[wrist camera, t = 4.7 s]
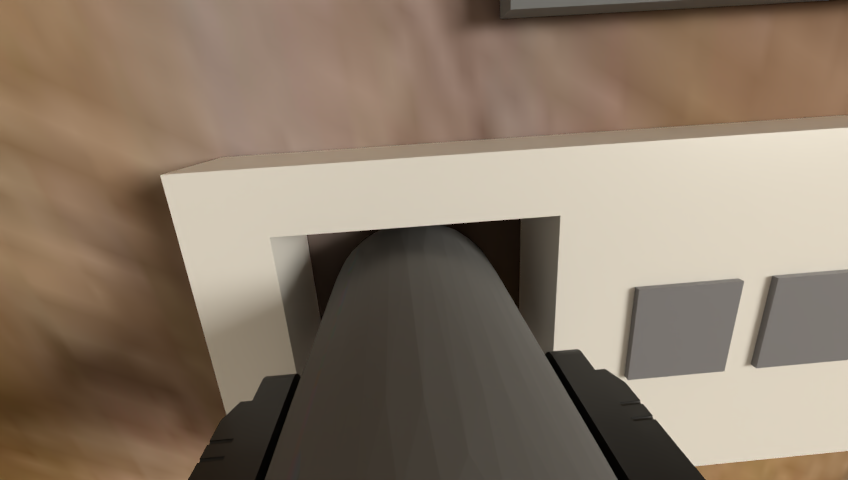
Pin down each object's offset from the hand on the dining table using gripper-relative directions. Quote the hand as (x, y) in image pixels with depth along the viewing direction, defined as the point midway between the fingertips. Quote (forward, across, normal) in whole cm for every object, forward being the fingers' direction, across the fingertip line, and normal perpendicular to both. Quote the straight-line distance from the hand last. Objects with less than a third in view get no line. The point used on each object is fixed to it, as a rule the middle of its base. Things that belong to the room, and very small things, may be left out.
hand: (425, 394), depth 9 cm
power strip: (+5, -5, 0) cm, 8 cm away
